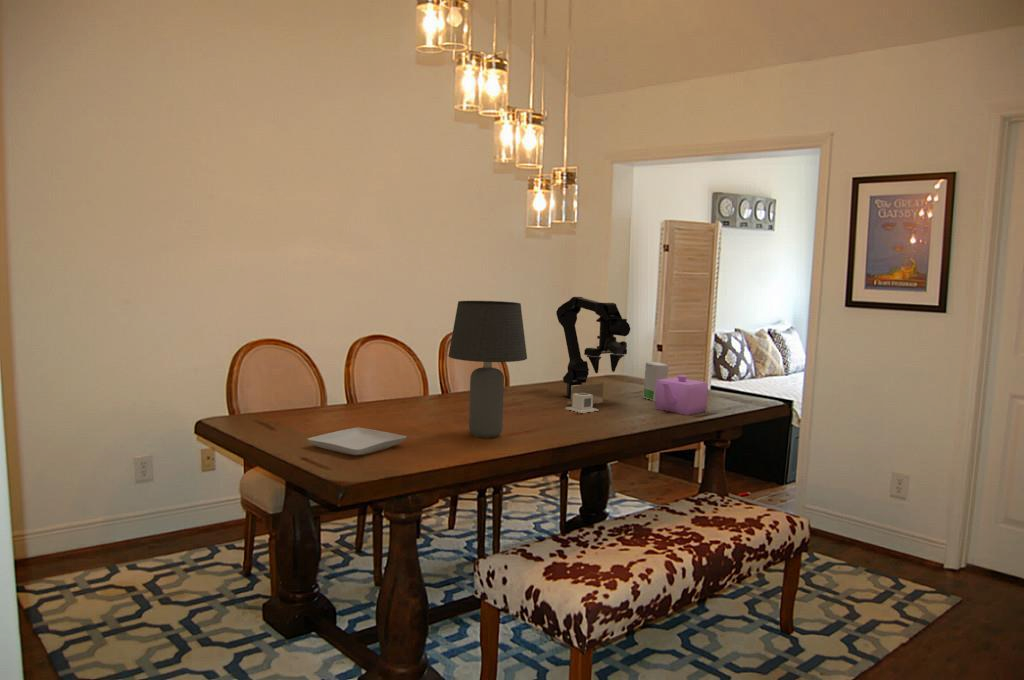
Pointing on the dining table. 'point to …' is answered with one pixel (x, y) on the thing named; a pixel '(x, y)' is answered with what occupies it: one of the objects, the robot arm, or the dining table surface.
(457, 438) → the dining table surface
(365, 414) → the dining table surface
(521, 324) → the lamp
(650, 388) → the skincare box
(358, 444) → the salad plate
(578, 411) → the cream square tile
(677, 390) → the violet knobbed box
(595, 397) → the oak screen
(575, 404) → the cream grey-paneled cube
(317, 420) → the dining table surface
